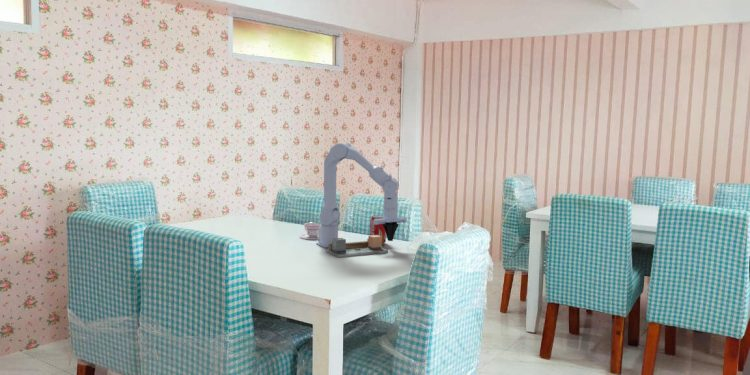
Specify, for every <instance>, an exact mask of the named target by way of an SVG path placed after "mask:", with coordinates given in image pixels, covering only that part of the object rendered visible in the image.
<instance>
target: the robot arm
mask: <svg viewBox="0 0 750 375" xmlns="http://www.w3.org/2000/svg"><path fill="white" fill-rule="evenodd" d="M344 159H346V160H351V161H355V163H357V164H358V165H359V166H361V167H362V168H363V169H364V170H366V171H367V172H368V174H369V175H368V176H369V178H370V179H372V180H373V181H374V182H375V183H376V184H377V185H379V187H381V188H382V191H383V216H384V218H381V219H374V224H375V225H378V224H382V225H383V227H384V229H385V232H386V240H387V241H388V242H393V240H394V236H395V234H396V231H397V229H398V227H399V223H408V218H407V217H403V216H402V217H400V216H399V217H398V205H399V204H398V190H399V187H400V184H399V181H398V180H397V179H396V178H394V177H393V176H392V175H391V174H390V175H389V174H388V173H387V172H386V171H385V170H384V167H383V166H378V165H376V166H374V165H373V164H372V162H370V161H369V160H368V159H367V158H366V157H365V156H364V155H363V154H362V153H361V152H360V151H359V150H358V149H357V148H355V147H354V146H352V145H351V144H350V143H348V142H340V143H339V142H338V143H335V144H334V145H333V146H331V147H330V148H329V151H328V153H327V155H326V156H325V158H324V161H323V204H322V207H321V212H320V213H319V221H320V222H319V223H321V225H320V227H319V229H318V239H317V240H318V242H316V243H315V244H316V245H319V246H320V247H322V248H329V244H332V241H333V238H339V222H338V221H339V219H340V216H341V214H340V211H339V206H338V203H337V165H338V164H339V163H341V161H343V160H344Z"/></svg>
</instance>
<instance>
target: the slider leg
mask: <svg viewBox="0 0 750 375" xmlns="http://www.w3.org/2000/svg"><path fill="white" fill-rule="evenodd" d="M366 239H367V240H366V241H368V248H371V249H381V248H383V247H382V245H383V244H382V237H381V236H378V235H371V236H370V235H368V238H366Z"/></svg>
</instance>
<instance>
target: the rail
mask: <svg viewBox="0 0 750 375" xmlns="http://www.w3.org/2000/svg"><path fill="white" fill-rule="evenodd" d="M358 247H368V241H367V240H363V241H349V242H346V249H347V248H358ZM328 249H330V250H332V244H329V247H328Z"/></svg>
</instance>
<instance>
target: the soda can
mask: <svg viewBox="0 0 750 375" xmlns="http://www.w3.org/2000/svg"><path fill="white" fill-rule="evenodd" d="M381 218H384V215H383V214H382V215H381V214H376V215H371V218H370V220H369V236H371V235H378V236H381V237H382V244H381V245H384V244H385V243H386V242H387V235H386V232H385V229H384V227H383V225H382V224H378V225H375V224H374V219H381Z"/></svg>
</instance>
